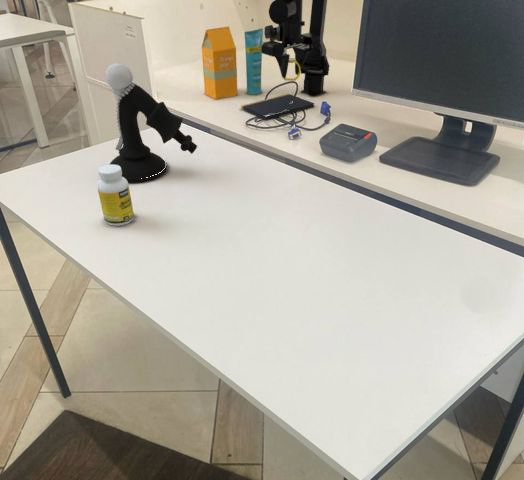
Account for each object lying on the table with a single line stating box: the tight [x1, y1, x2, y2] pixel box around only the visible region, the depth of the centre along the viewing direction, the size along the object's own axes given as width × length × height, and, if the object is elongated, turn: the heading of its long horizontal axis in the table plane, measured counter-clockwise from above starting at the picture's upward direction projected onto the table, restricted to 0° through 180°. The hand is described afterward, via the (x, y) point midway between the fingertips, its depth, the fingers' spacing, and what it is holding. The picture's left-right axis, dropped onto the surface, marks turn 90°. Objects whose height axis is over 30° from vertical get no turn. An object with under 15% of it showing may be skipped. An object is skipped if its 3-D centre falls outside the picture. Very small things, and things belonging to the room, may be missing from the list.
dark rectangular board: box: [240, 93, 315, 121], centre depth 172 cm, size 20×13×1 cm, turn 128°
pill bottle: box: [96, 163, 135, 226], centre depth 113 cm, size 6×6×12 cm
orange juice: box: [201, 26, 239, 100], centre depth 177 cm, size 8×9×20 cm
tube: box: [244, 27, 264, 96], centre depth 178 cm, size 7×5×19 cm, turn 134°
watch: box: [280, 57, 301, 82], centre depth 161 cm, size 6×3×6 cm, turn 91°
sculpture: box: [105, 62, 198, 184], centre depth 128 cm, size 15×24×25 cm, turn 86°
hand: (290, 76), depth 162 cm, fingers closed on watch, 5 cm apart
